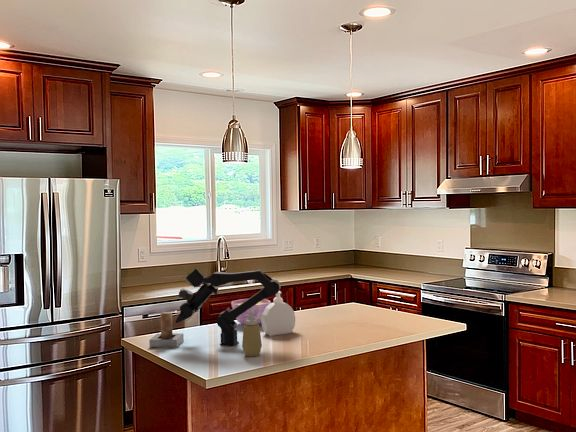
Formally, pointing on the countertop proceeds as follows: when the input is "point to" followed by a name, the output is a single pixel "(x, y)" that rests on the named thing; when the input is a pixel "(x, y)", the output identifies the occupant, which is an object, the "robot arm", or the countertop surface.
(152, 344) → the socket block
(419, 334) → the countertop surface
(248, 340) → the squeeze bottle
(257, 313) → the bowl of food
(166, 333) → the walnut peg
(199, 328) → the countertop surface
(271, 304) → the soap bottle
